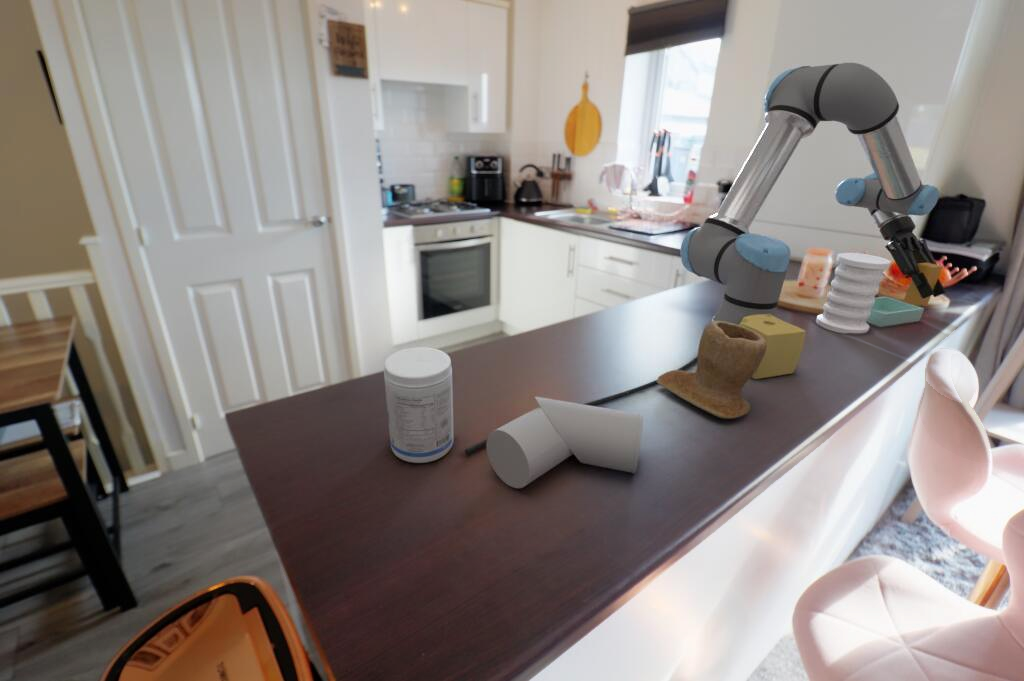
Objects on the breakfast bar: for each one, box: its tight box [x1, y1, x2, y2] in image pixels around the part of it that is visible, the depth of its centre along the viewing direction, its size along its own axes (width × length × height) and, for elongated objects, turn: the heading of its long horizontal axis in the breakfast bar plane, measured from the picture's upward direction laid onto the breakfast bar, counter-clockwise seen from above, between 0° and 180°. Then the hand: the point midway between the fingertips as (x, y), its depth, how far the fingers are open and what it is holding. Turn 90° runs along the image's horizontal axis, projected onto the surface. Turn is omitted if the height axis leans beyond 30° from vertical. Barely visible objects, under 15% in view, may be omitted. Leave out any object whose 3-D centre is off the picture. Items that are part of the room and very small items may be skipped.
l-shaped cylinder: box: [485, 396, 644, 489], centre depth 68 cm, size 18×11×20 cm
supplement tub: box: [383, 346, 454, 464], centre depth 70 cm, size 10×10×15 cm
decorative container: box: [815, 252, 892, 335], centre depth 121 cm, size 12×12×18 cm
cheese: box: [739, 314, 807, 380], centre depth 99 cm, size 10×11×10 cm
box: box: [866, 295, 925, 328], centre depth 129 cm, size 15×10×4 cm
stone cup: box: [656, 321, 766, 420], centre depth 85 cm, size 15×12×15 cm
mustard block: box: [902, 263, 944, 307], centre depth 132 cm, size 4×4×11 cm
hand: (934, 295), depth 130 cm, fingers closed on mustard block, 4 cm apart
